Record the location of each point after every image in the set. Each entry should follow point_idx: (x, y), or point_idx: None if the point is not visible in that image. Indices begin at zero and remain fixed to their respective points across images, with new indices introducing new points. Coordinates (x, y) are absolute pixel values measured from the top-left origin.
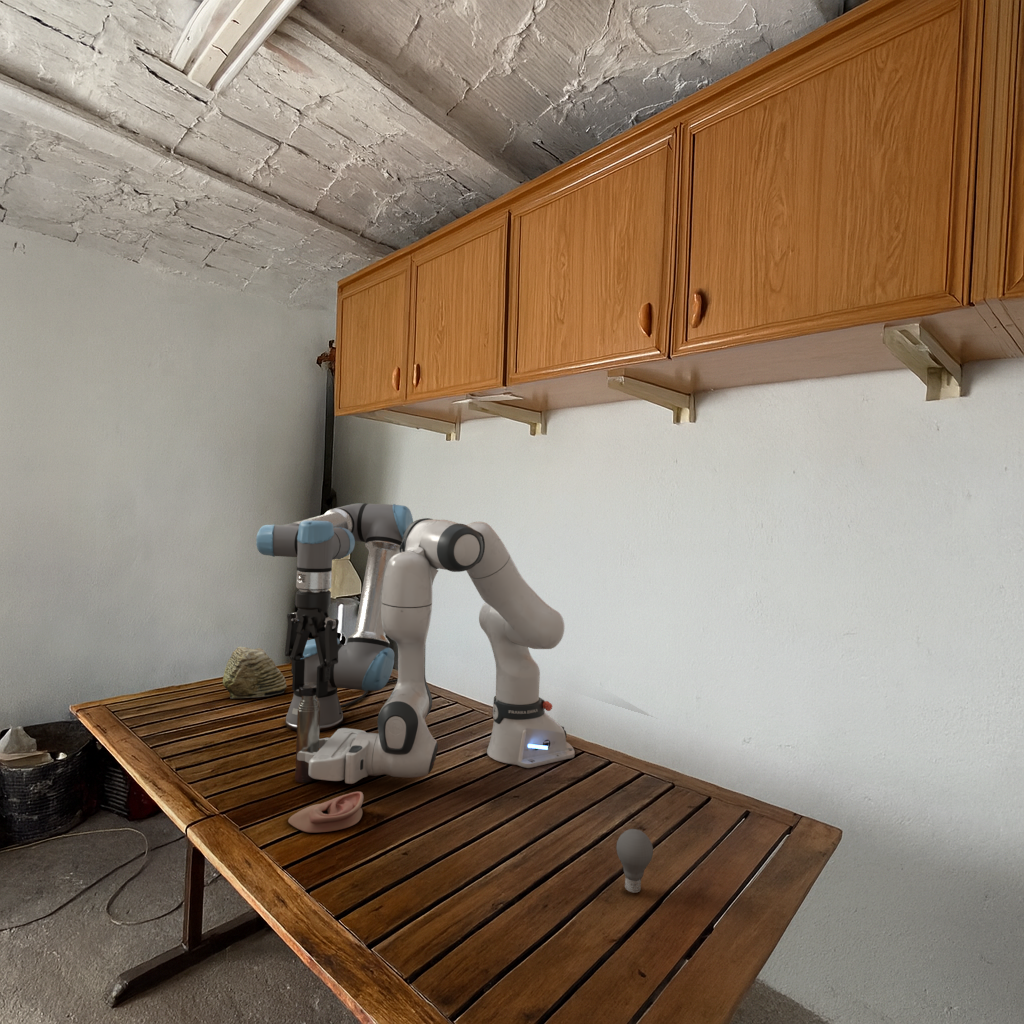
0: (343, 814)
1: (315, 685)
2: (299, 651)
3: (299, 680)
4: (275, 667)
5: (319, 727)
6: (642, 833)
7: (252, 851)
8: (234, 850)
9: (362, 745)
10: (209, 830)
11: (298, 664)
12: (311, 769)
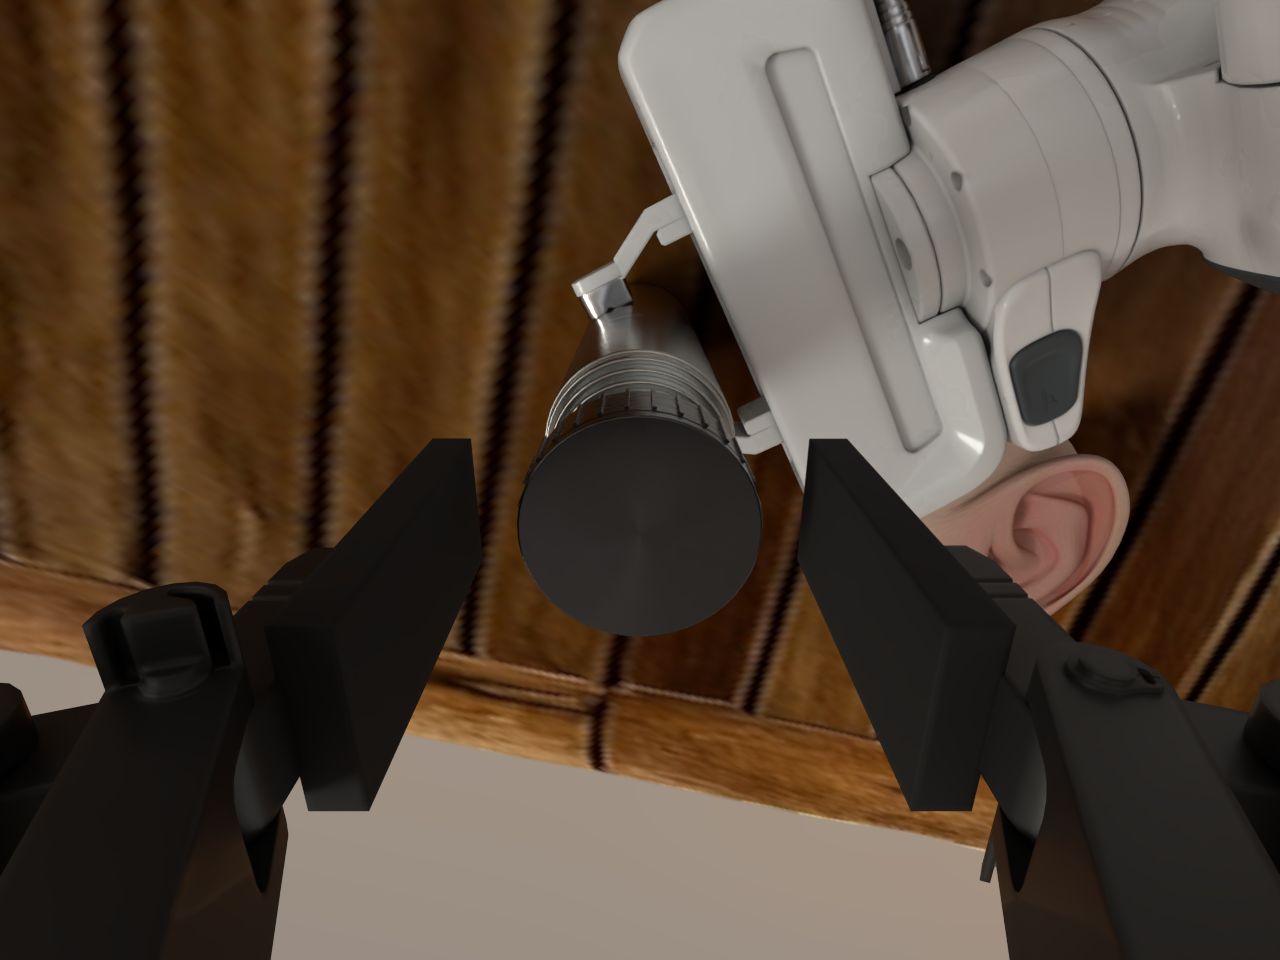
0: (1088, 581)
1: (700, 505)
2: (246, 913)
3: (449, 543)
4: None
5: (703, 354)
6: None
7: (875, 759)
8: (826, 778)
9: (1071, 318)
10: (674, 756)
11: (378, 710)
12: None
